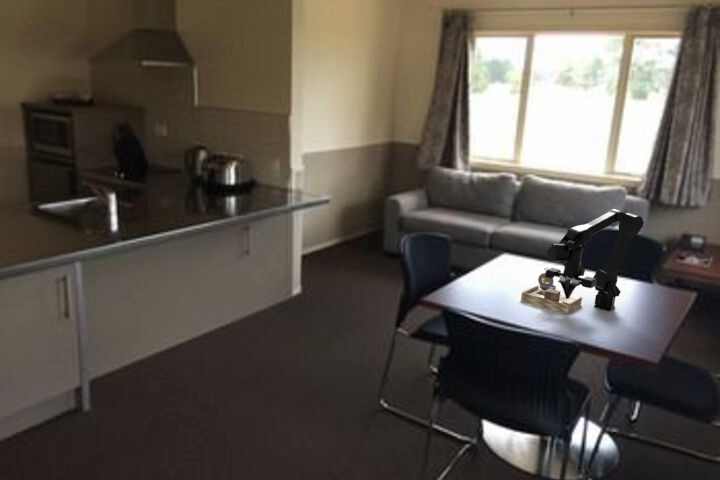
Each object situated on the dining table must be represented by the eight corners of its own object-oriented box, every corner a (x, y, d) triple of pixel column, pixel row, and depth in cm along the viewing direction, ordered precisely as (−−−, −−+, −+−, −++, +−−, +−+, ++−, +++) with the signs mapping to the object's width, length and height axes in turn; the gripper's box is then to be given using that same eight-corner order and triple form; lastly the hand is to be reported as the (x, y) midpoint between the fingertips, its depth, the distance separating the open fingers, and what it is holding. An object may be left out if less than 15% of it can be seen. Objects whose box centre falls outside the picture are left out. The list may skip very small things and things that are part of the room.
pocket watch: (553, 286, 269) (556, 264, 267) (557, 292, 261) (561, 270, 259) (535, 284, 270) (537, 263, 268) (538, 290, 262) (541, 268, 260)
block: (559, 302, 243) (560, 291, 242) (554, 304, 240) (555, 293, 239) (548, 298, 246) (549, 288, 245) (543, 301, 243) (545, 290, 242)
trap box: (580, 305, 246) (582, 297, 245) (566, 313, 236) (567, 305, 235) (536, 293, 259) (537, 285, 258) (520, 300, 248) (521, 292, 248)
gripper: (604, 262, 235) (598, 300, 239) (559, 251, 247) (553, 288, 251) (593, 267, 227) (587, 306, 231) (546, 256, 239) (541, 294, 243)
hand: (567, 298), depth 239 cm, fingers closed
